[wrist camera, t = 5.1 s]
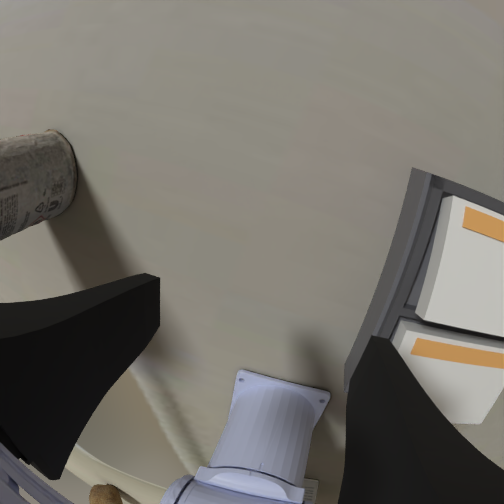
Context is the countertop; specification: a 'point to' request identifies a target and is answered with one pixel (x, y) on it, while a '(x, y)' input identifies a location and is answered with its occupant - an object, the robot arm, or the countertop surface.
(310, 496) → the container
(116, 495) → the brown potato
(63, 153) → the spray can
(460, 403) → the panel
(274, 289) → the countertop surface
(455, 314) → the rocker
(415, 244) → the grey divided tray
